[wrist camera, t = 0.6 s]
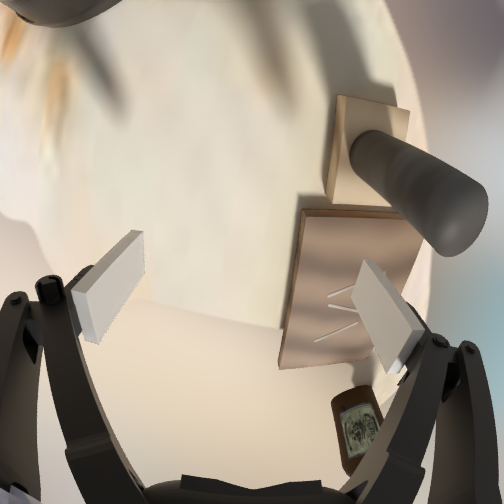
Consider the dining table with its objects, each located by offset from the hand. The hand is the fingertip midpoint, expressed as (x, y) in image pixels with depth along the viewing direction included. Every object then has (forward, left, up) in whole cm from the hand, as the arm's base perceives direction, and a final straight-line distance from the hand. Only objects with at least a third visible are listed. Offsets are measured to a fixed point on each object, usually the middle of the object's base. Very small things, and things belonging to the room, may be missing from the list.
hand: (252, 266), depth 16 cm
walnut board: (+13, +12, -9) cm, 20 cm away
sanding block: (-5, +10, -9) cm, 15 cm away
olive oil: (+43, +23, -10) cm, 50 cm away
